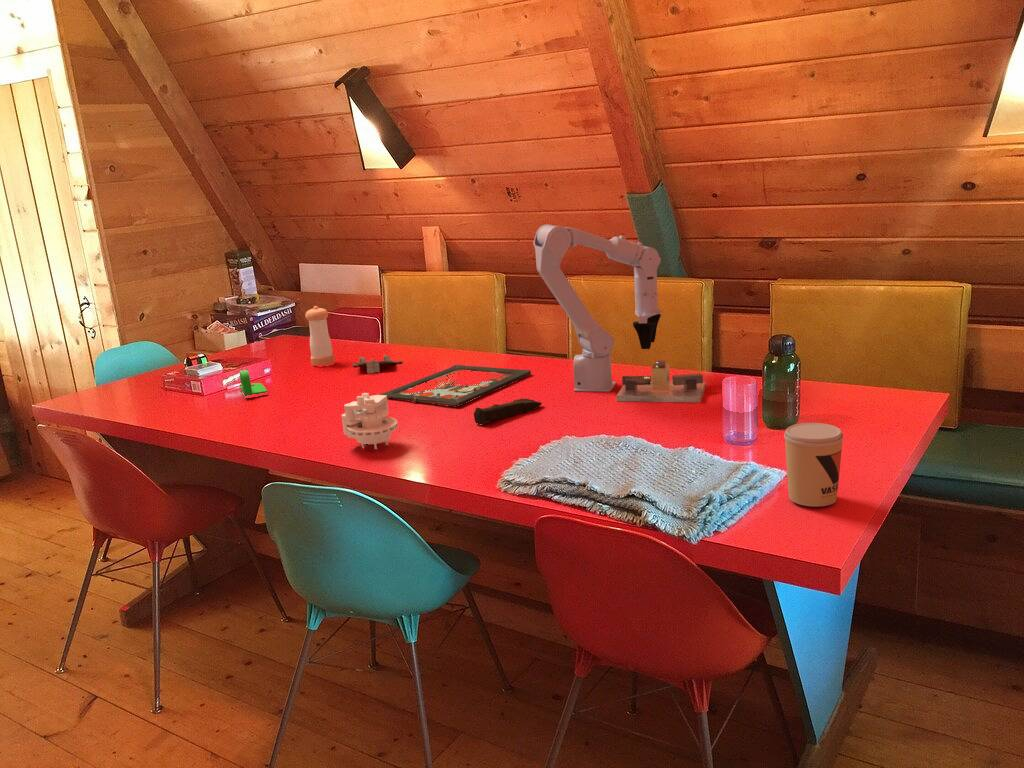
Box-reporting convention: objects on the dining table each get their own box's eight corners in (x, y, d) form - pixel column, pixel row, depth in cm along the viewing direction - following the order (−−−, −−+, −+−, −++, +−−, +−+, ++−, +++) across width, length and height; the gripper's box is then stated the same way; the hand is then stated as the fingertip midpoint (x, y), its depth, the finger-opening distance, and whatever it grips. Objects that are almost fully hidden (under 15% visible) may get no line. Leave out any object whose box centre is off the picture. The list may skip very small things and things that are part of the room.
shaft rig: (616, 401, 215) (615, 383, 214) (626, 386, 228) (625, 369, 227) (700, 402, 209) (699, 383, 208) (705, 386, 222) (705, 369, 221)
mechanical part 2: (372, 458, 188) (365, 404, 185) (336, 449, 196) (329, 397, 193) (411, 443, 196) (405, 391, 193) (375, 435, 204) (369, 385, 201)
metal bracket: (397, 353, 260) (346, 357, 260) (398, 373, 260) (347, 377, 260) (402, 356, 274) (354, 360, 274) (404, 375, 274) (355, 378, 274)
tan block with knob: (652, 389, 217) (651, 363, 215) (655, 385, 221) (654, 359, 219) (667, 390, 216) (666, 363, 214) (669, 385, 220) (668, 359, 218)
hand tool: (483, 410, 202) (470, 406, 205) (484, 427, 203) (471, 423, 207) (543, 392, 214) (530, 389, 217) (543, 408, 215) (530, 404, 218)
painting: (534, 377, 247) (534, 368, 246) (460, 412, 219) (459, 402, 218) (454, 370, 262) (453, 362, 261) (375, 402, 234) (374, 393, 233)
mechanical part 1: (268, 397, 245) (263, 369, 243) (245, 401, 243) (241, 373, 241) (261, 388, 256) (257, 361, 254) (240, 392, 254) (236, 365, 252)
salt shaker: (313, 365, 280) (305, 305, 276) (336, 363, 281) (328, 303, 276) (310, 370, 273) (302, 309, 268) (334, 368, 274) (326, 307, 269)
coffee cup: (828, 513, 144) (829, 443, 141) (774, 501, 150) (774, 434, 147) (850, 494, 151) (852, 427, 148) (798, 483, 157) (798, 419, 154)
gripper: (657, 298, 218) (659, 351, 222) (665, 288, 232) (667, 339, 235) (629, 298, 221) (631, 351, 224) (638, 289, 234) (640, 339, 237)
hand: (648, 345), depth 230 cm, fingers open, 7 cm apart
